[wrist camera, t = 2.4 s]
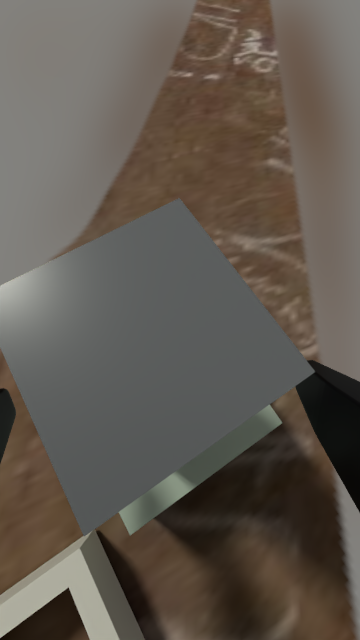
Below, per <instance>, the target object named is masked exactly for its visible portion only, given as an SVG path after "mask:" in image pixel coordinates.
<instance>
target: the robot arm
mask: <svg viewBox="0 0 360 640" xmlns="http://www.w3.org/2000/svg"><path fill="white" fill-rule="evenodd" d="M307 362H308V363H309V364H310V366H311V367H312V368H313V369H314V371H315V372H314V373H313V374H312V375H310V376H309V377H307V378H306V379H305V380H303V381H302V382H300V383H299V384H298V385H296V386H295V387H296V390H297V393H298V395H299V397H300V400H301V402H302V404H303V407H304V409H305V411H306V414H307V416H308V418H309V421H310V423H311V425H312V427H313V429H314V432H315V434H316V435H317V437H318V439H319V441H320V443H321V445H322V446H323V448H324V450H325V452H326V453H327V455H328V457H329V459H330V461H331V462H332V464H333V466H334V468H335V469H336V471H337V473H338V475H339V476H340V478H341V480H342V482H343V484H344V485H345V487H346V489H347V491H348V492H349V494H350V496H351V498H352V500H353V501H354V503H355V505H356V507H357V508H358V510H359V512H360V382H359V381H357V380H355V379H352V378H350V377H348V376H346V375H344V374H342V373H339V372H337V371H335V370H333V369H331V368H329V367H327V366H324V365H322V364H320V363H318V362H316V361H313V360H307ZM15 416H16V410H15V407H14V404H13V402H12V399H11V397H10V394H9V392H8V390H7V389H4V388H2V389H0V463H1V460H2V457H3V454H4V451H5V448H6V445H7V442H8V438H9V435H10V432H11V429H12V426H13V423H14V420H15Z"/></svg>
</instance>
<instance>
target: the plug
mask: <svg viewBox="0 0 360 640" xmlns="http://www.w3.org/2000/svg"><path fill="white" fill-rule="evenodd" d="M0 348H1V350H2V352H3V355H4V357H5V359H6V361H7V364H8V366H9V368H10V370H11V373H12V375H13V377H14V380H15V382H16V384H17V386H18V389H19V391H20V393H21V395H22V398H23V400H24V402H25V404H26V407H27V409H28V411H29V413H30V416H31V418H32V420H33V422H34V425H35V427H36V429H37V431H38V434H39V436H40V438H41V440H42V443H43V445H44V447H45V449H46V452H47V454H48V456H49V458H50V461H51V463H52V465H53V467H54V470H55V472H56V474H57V477H58V479H59V481H60V483H61V486H62V488H63V490H64V492H65V495H66V497H67V499H68V501H69V504H70V506H71V508H72V510H73V513H74V515H75V517H76V519H77V522H78V524H79V526H80V528H81V531H82V533H83V535H84V536H86V535H87V534H89V533H90V532H91V531H93V530H94V529H96V528H97V527H98V526H100V525H101V524H103V523H104V522H105V521H107V520H108V519H110V518H111V517H112V516H114V515H115V514H117V513H118V512H119V511H121V510H122V509H124V508H125V507H126V506H128V505H129V504H131V503H132V502H133V501H135V500H136V499H138V498H139V497H140V496H142V495H143V494H145V493H146V492H147V491H149V490H150V489H152V488H153V487H154V486H156V485H157V484H159V483H160V482H161V481H163V480H164V479H166V478H167V477H168V476H170V475H171V474H173V473H174V472H175V471H177V470H178V469H180V468H181V467H182V466H184V465H185V464H187V463H188V462H190V461H191V460H192V459H194V458H195V457H197V456H198V455H199V454H201V453H202V452H204V451H205V450H206V449H208V448H209V447H211V446H212V445H213V444H215V443H216V442H218V441H219V440H220V439H222V438H223V437H225V436H226V435H227V434H229V433H230V432H232V431H233V430H234V429H236V428H237V427H239V426H240V425H241V424H243V423H244V422H246V421H247V420H248V419H250V418H251V417H253V416H254V415H255V414H257V413H258V412H260V411H261V410H262V409H264V408H265V407H267V406H268V405H269V404H271V403H272V402H274V401H275V400H276V399H278V398H279V397H281V396H282V395H283V394H285V393H286V392H288V391H289V390H291V389H292V388H293V387H295V386H296V385H298V384H299V383H300V382H302V381H303V380H305V379H306V378H307V377H309V376H310V375H312V374H313V373H314V372H315V371H314V369H313V368H312V367H311V366H310V364H309V363H308V362H307V360H306V359H305V358H304V357H303V355H302V354H301V353H300V352H299V350H298V349H297V348H296V346H295V345H294V344H293V343H292V341H291V340H290V339H289V338H288V336H287V335H286V334H285V332H284V331H283V330H282V329H281V327H280V326H279V325H278V323H277V322H276V321H275V320H274V318H273V317H272V316H271V315H270V313H269V312H268V311H267V309H266V308H265V307H264V306H263V304H262V303H261V302H260V300H259V299H258V298H257V297H256V295H255V294H254V293H253V292H252V290H251V289H250V288H249V286H248V285H247V284H246V283H245V281H244V280H243V279H242V277H241V276H240V275H239V274H238V272H237V271H236V270H235V269H234V267H233V266H232V265H231V263H230V262H229V261H228V260H227V258H226V257H225V256H224V254H223V253H222V252H221V251H220V249H219V248H218V247H217V246H216V244H215V243H214V242H213V240H212V239H211V238H210V237H209V235H208V234H207V233H206V231H205V230H204V229H203V228H202V226H201V225H200V224H199V223H198V221H197V220H196V219H195V217H194V216H193V215H192V214H191V212H190V211H189V210H188V208H187V207H186V206H185V205H184V203H183V202H182V201H181V200H180V198H179V199H177V200H175V201H172V202H170V203H168V204H166V205H164V206H162V207H160V208H158V209H156V210H154V211H152V212H150V213H148V214H146V215H144V216H142V217H140V218H138V219H136V220H134V221H132V222H130V223H128V224H125V225H123V226H121V227H119V228H117V229H115V230H113V231H111V232H109V233H107V234H105V235H103V236H101V237H99V238H97V239H95V240H93V241H91V242H89V243H87V244H85V245H83V246H81V247H79V248H76V249H74V250H72V251H70V252H68V253H66V254H64V255H62V256H60V257H58V258H56V259H54V260H52V261H50V262H48V263H46V264H44V265H42V266H40V267H38V268H36V269H34V270H32V271H30V272H27V273H25V274H23V275H21V276H19V277H17V278H15V279H13V280H11V281H9V282H7V283H5V284H3V285H1V286H0Z"/></svg>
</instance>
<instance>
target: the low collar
mask: <svg viewBox="0 0 360 640" xmlns="http://www.w3.org/2000/svg"><path fill="white" fill-rule="evenodd" d="M68 587H69V590H70V592H71V594H72V597H73V599H74V602H75V604H76V607H77V609H78V612H79V614H80V616H81V619H82V621H83V624H84V626H85V629H86V631H87V634H88V636H89V638H90V640H145V638H144V636H143V634H142V632H141V630H140V627H139V625H138V623H137V621H136V619H135V616H134V614H133V612H132V610H131V608H130V605H129V603H128V601H127V599H126V597H125V595H124V592H123V590H122V588H121V586H120V584H119V581H118V579H117V577H116V575H115V573H114V570H113V568H112V566H111V564H110V562H109V559H108V557H107V555H106V553H105V551H104V549H103V546H102V544H101V542H100V540H99V538H98V535H97V533H96V531H95V529H94V530H93V531H91V532H90V533H89V534H87V535H86V536H83V537H81V538H80V539H78V540H77V541H76V542H74V543H73V544H71V545H70V546H69V547H67V548H66V549H64V550H63V551H62V552H60V553H59V554H57V555H56V556H55V557H53V558H52V559H50V560H49V561H48V562H46V563H45V564H43V565H42V566H41V567H39V568H38V569H36V570H35V571H33V572H32V573H31V574H29V575H28V576H26V577H25V578H24V579H22V580H21V581H19V582H18V583H17V584H15V585H14V586H12V587H11V588H10V589H8V590H7V591H5V592H4V593H3V594H1V595H0V638H1V637H2V636H4V635H5V634H6V633H8V632H9V631H10V630H12V629H13V628H14V627H16V626H17V625H18V624H20V623H21V622H23V621H24V620H25V619H27V618H28V617H29V616H31V615H32V614H33V613H35V612H36V611H37V610H39V609H40V608H41V607H43V606H44V605H45V604H47V603H48V602H49V601H51V600H52V599H53V598H55V597H56V596H58V595H59V594H60V593H62V592H63V591H64V590H66V589H67V588H68Z"/></svg>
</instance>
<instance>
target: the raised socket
mask: <svg viewBox="0 0 360 640" xmlns="http://www.w3.org/2000/svg"><path fill="white" fill-rule="evenodd" d="M280 424H282V422H281V420H280V419H279V417H278V416H277V414H276V413H275V412H274V410H273V409H272V407H271V406H270V405H268V406H267V407H265V408H264V409H262V410H261V411H260V412H258V413H257V414H255V415H254V416H253V417H251V418H250V419H248V420H247V421H246V422H244V423H243V424H241V425H240V426H239V427H237V428H236V429H234V430H233V431H232V432H230V433H229V434H227V435H226V436H225V437H223V438H222V439H220V440H219V441H218V442H216V443H215V444H213V445H212V446H211V447H209V448H208V449H206V450H205V451H204V452H202V453H201V454H199V455H198V456H197V457H195V458H194V459H192V460H191V461H190V462H188V463H187V464H185V465H184V466H182V467H181V468H180V469H178V470H177V471H175V472H174V473H173V474H171V475H170V476H168V477H167V478H166V479H164V480H163V481H161V482H160V483H159V484H157V485H156V486H154V487H153V488H152V489H150V490H149V491H147V492H146V493H145V494H143V495H142V496H140V497H139V498H138V499H136V500H135V501H133V502H132V503H131V504H129V505H128V506H126V507H125V508H124V509H122V510H121V511H119V514H120V516H121V518H122V520H123V522H124V524H125V526H126V528H127V530H128V532H129V534H130V535H131V534H133V533H134V532H135V531H137V530H138V529H139V528H141V527H142V526H143V525H145V524H146V523H148V522H149V521H150V520H152V519H153V518H154V517H156V516H157V515H158V514H160V513H161V512H162V511H164V510H165V509H167V508H168V507H169V506H171V505H172V504H173V503H175V502H176V501H177V500H179V499H180V498H181V497H183V496H184V495H185V494H187V493H188V492H190V491H191V490H192V489H194V488H195V487H196V486H198V485H199V484H200V483H202V482H203V481H204V480H206V479H207V478H209V477H210V476H211V475H213V474H214V473H215V472H217V471H218V470H219V469H221V468H222V467H223V466H225V465H226V464H227V463H229V462H230V461H232V460H233V459H234V458H236V457H237V456H238V455H240V454H241V453H242V452H244V451H245V450H246V449H248V448H249V447H251V446H252V445H253V444H255V443H256V442H257V441H259V440H260V439H261V438H263V437H264V436H265V435H267V434H268V433H270V432H271V431H272V430H274V429H275V428H276V427H278V426H279V425H280Z"/></svg>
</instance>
